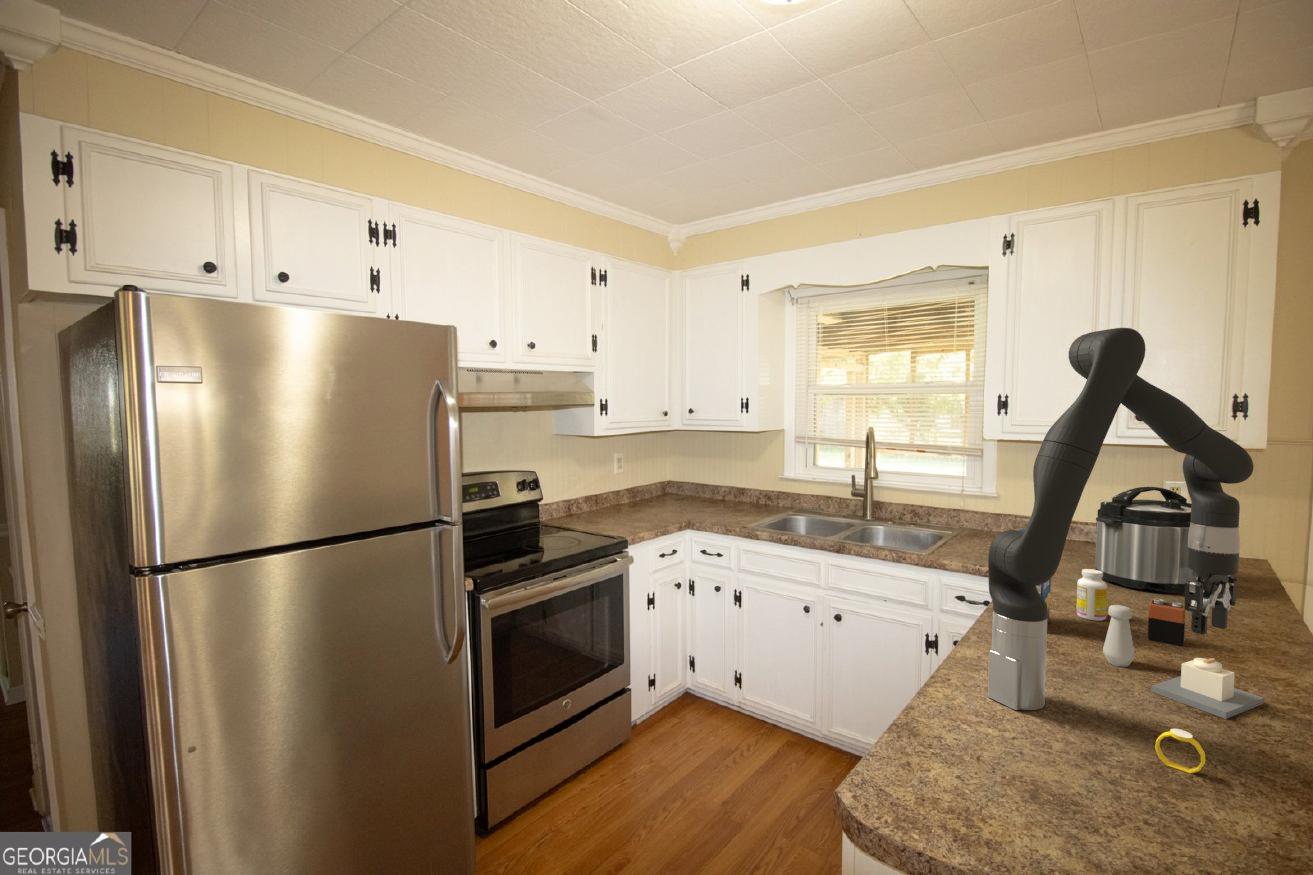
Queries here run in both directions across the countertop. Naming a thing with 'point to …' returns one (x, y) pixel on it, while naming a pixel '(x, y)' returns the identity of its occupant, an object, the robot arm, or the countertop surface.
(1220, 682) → the knob
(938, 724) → the countertop surface
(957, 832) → the countertop surface
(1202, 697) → the plate
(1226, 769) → the countertop surface
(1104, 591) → the supplement bottle
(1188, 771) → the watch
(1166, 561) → the pressure cooker
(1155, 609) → the battery
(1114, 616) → the salt shaker
